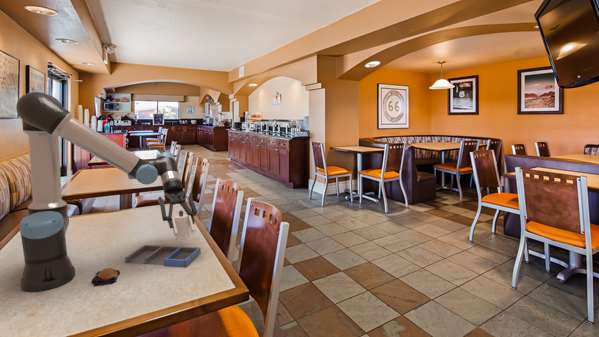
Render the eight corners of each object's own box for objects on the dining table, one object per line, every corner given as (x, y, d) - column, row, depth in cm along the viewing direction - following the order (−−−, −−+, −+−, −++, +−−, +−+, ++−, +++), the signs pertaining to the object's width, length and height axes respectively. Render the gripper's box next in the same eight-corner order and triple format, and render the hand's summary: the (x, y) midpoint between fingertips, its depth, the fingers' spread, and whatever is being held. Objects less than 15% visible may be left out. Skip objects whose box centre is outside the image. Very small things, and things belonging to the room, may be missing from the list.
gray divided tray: (185, 267, 124) (184, 260, 124) (123, 264, 127) (123, 257, 127) (200, 253, 138) (200, 246, 138) (144, 250, 141) (144, 243, 141)
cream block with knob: (185, 239, 128) (183, 212, 127) (175, 239, 129) (173, 211, 127) (189, 236, 132) (187, 209, 131) (180, 235, 133) (178, 208, 131)
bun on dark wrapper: (95, 275, 120) (94, 266, 119) (121, 271, 123) (120, 262, 122) (89, 289, 110) (88, 279, 109) (117, 284, 113) (116, 274, 112)
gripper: (193, 186, 146) (206, 232, 135) (147, 192, 136) (158, 242, 125) (195, 176, 140) (210, 223, 129) (148, 181, 130) (159, 233, 119)
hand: (184, 232), depth 127 cm, fingers closed on cream block with knob, 6 cm apart
